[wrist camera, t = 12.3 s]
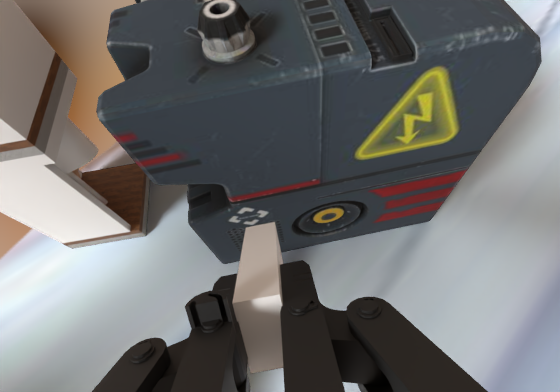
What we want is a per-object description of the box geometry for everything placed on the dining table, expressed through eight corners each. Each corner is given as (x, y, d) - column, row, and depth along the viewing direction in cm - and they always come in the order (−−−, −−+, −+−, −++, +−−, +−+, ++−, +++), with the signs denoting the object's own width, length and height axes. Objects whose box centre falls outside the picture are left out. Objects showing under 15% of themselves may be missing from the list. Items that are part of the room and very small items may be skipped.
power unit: (365, 79, 55) (408, -184, 29) (431, 222, 42) (622, -34, 16) (207, 112, 55) (108, -121, 29) (220, 266, 42) (59, 84, 16)
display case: (145, 235, 45) (-218, -58, 14) (72, 248, 45) (-441, -14, 15) (150, 169, 50) (-103, -143, 20) (85, 180, 51) (-265, -111, 20)
